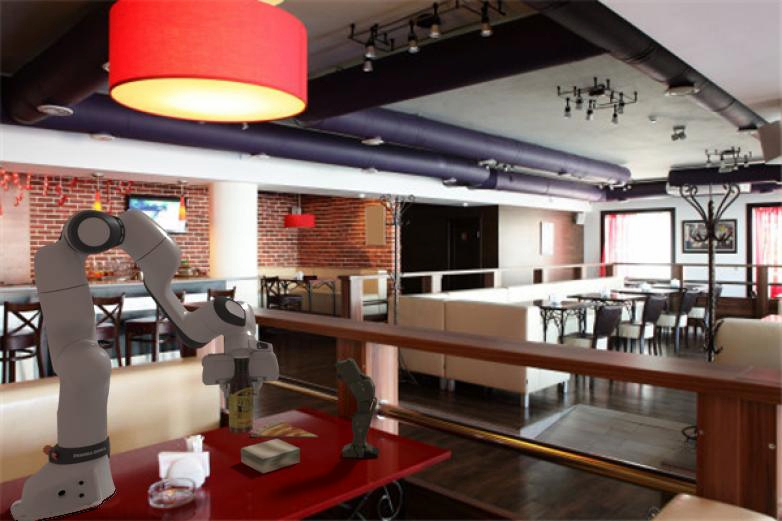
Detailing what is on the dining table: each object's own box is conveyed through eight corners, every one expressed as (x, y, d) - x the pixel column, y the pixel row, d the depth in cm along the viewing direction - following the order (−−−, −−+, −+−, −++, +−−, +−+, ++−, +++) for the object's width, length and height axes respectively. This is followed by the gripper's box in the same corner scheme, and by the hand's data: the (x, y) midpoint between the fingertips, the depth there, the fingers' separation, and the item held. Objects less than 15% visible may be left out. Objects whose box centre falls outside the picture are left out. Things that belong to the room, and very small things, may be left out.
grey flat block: (262, 473, 159) (262, 459, 159) (241, 462, 168) (240, 448, 168) (300, 462, 167) (299, 448, 167) (277, 451, 176) (277, 438, 176)
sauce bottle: (239, 436, 150) (237, 360, 150) (224, 432, 154) (222, 357, 153) (259, 430, 155) (257, 356, 155) (244, 426, 159) (242, 353, 159)
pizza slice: (275, 450, 179) (275, 443, 179) (241, 433, 195) (241, 427, 195) (318, 438, 189) (317, 432, 189) (282, 424, 206) (282, 418, 206)
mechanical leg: (392, 447, 175) (367, 351, 176) (389, 456, 168) (363, 356, 168) (348, 457, 177) (323, 362, 177) (344, 466, 170) (318, 367, 170)
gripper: (201, 347, 158) (199, 391, 149) (277, 343, 163) (280, 386, 154) (202, 360, 163) (200, 404, 153) (276, 356, 168) (279, 398, 159)
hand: (241, 395), depth 154 cm, fingers closed on sauce bottle, 6 cm apart
